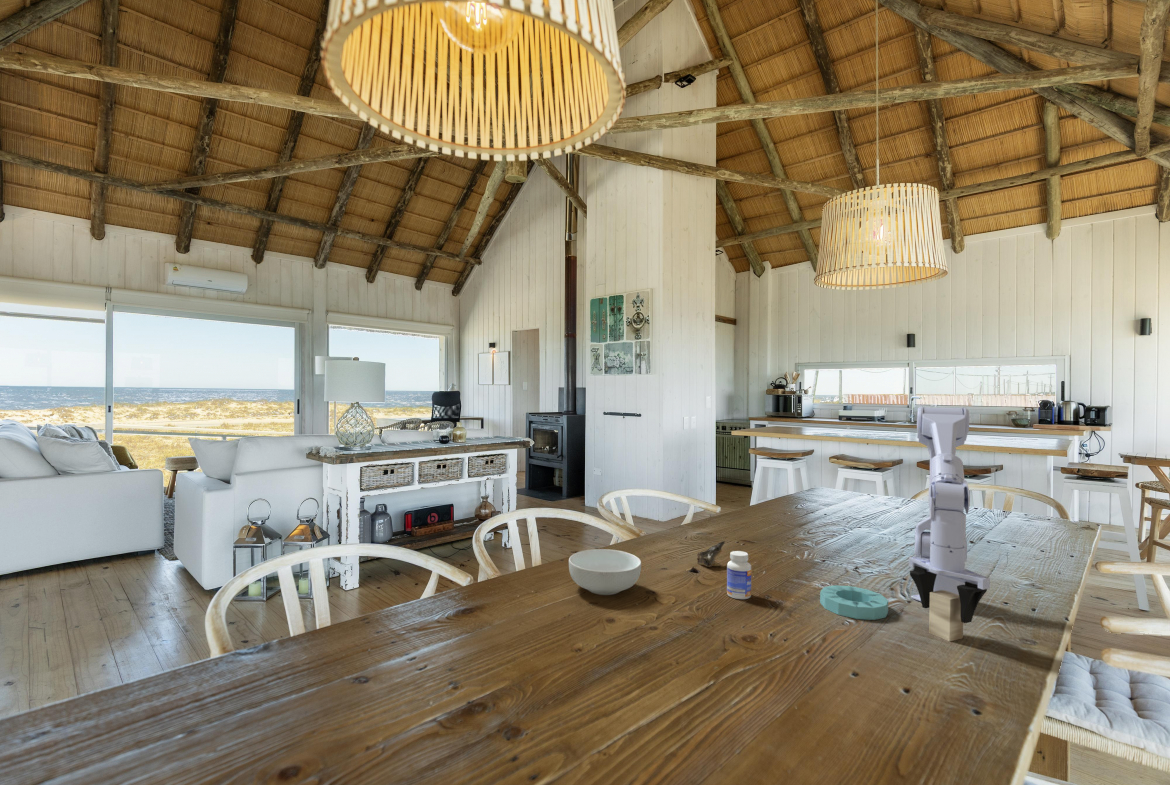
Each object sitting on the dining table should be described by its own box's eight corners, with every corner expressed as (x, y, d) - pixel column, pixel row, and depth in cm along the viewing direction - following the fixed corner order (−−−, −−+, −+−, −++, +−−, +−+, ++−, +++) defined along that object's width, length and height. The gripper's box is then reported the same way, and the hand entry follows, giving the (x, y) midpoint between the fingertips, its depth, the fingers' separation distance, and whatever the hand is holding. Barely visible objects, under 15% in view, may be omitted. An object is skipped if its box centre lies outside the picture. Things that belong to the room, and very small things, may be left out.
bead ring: (849, 593, 131) (850, 582, 131) (901, 614, 119) (901, 602, 119) (808, 601, 126) (808, 589, 126) (857, 623, 114) (857, 611, 114)
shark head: (718, 565, 154) (718, 540, 155) (731, 568, 148) (731, 542, 149) (692, 565, 152) (693, 539, 153) (705, 568, 146) (705, 541, 147)
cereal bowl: (556, 595, 127) (556, 564, 126) (584, 573, 142) (584, 545, 142) (628, 607, 120) (628, 574, 120) (649, 583, 136) (649, 554, 136)
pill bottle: (752, 601, 125) (752, 557, 125) (727, 598, 126) (728, 555, 126) (749, 592, 130) (750, 550, 130) (726, 590, 132) (726, 549, 132)
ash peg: (942, 629, 112) (943, 589, 112) (962, 638, 108) (963, 596, 108) (928, 632, 110) (929, 592, 110) (949, 641, 106) (950, 599, 106)
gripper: (899, 537, 114) (897, 603, 114) (973, 556, 101) (971, 632, 101) (922, 534, 117) (921, 599, 117) (997, 552, 103) (996, 626, 103)
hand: (946, 614), depth 109 cm, fingers open, 7 cm apart
